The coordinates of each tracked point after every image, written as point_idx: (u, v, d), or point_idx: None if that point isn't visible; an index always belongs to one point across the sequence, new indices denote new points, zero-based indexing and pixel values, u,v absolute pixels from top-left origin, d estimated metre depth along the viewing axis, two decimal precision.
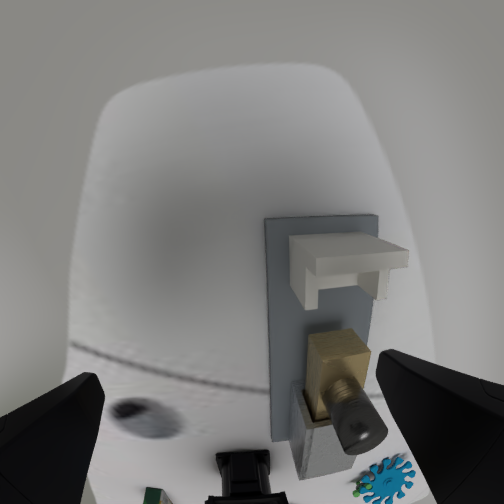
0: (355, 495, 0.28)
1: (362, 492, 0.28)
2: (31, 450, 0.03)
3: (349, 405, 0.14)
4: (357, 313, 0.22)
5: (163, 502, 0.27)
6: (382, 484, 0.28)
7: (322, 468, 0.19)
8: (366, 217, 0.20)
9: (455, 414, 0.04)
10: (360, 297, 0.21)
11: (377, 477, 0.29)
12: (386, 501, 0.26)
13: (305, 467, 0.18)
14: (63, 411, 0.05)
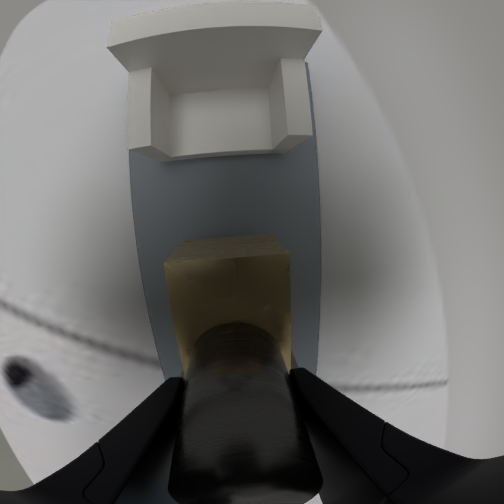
0: None
1: None
2: (139, 480, 0.03)
3: (209, 380, 0.06)
4: (291, 220, 0.13)
5: None
6: None
7: None
8: None
9: (339, 460, 0.04)
10: (293, 189, 0.13)
11: None
12: None
13: None
14: (167, 425, 0.05)
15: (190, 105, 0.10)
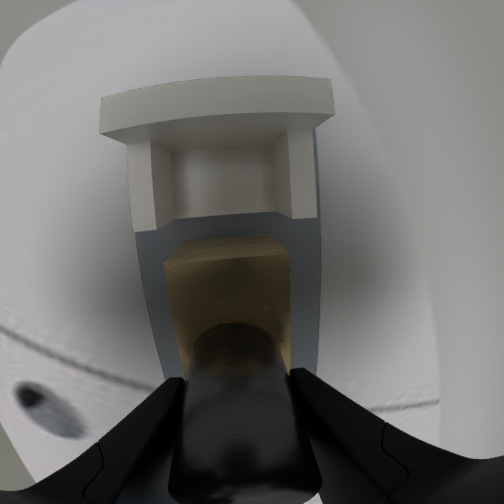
0: None
1: None
2: (139, 479, 0.03)
3: (209, 380, 0.06)
4: (293, 273, 0.14)
5: None
6: None
7: None
8: None
9: (339, 460, 0.04)
10: (295, 243, 0.13)
11: None
12: None
13: None
14: (167, 425, 0.05)
15: (192, 164, 0.11)
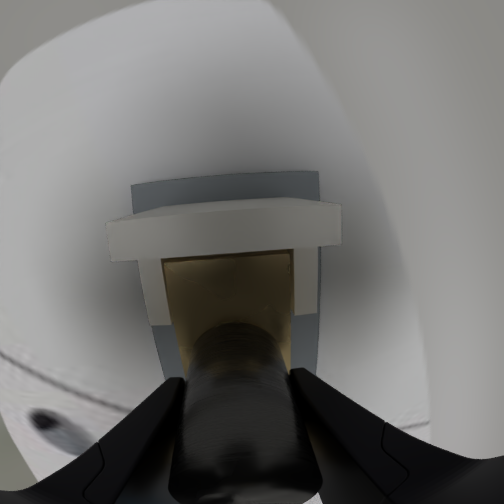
0: None
1: None
2: (140, 480, 0.03)
3: (209, 380, 0.06)
4: (293, 330, 0.14)
5: None
6: None
7: None
8: (296, 173, 0.13)
9: (339, 460, 0.04)
10: None
11: None
12: None
13: None
14: (167, 425, 0.05)
15: None
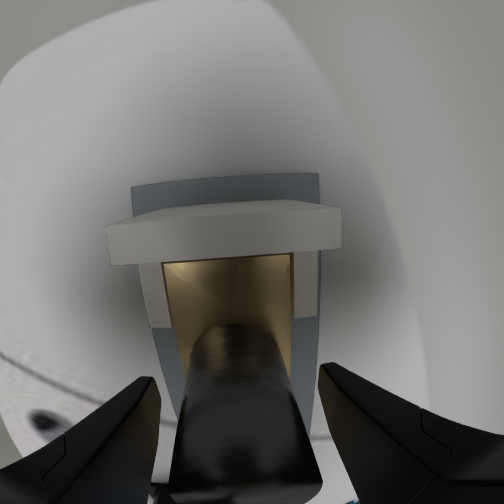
0: None
1: None
2: (99, 472, 0.03)
3: (209, 381, 0.06)
4: (293, 332, 0.14)
5: None
6: None
7: None
8: (296, 175, 0.13)
9: (382, 447, 0.04)
10: None
11: None
12: None
13: None
14: (130, 422, 0.05)
15: None
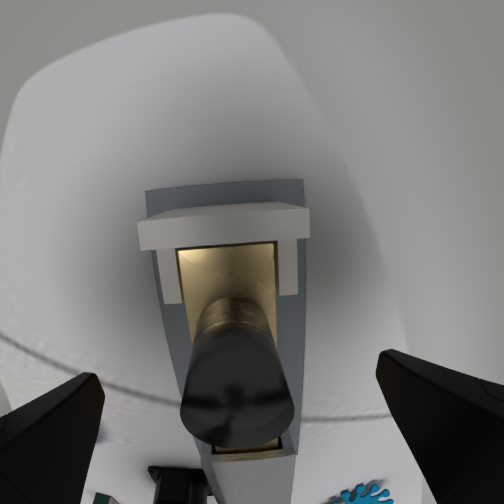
0: None
1: None
2: (31, 449, 0.03)
3: (212, 333, 0.08)
4: (283, 315, 0.17)
5: None
6: None
7: None
8: (284, 181, 0.15)
9: (455, 414, 0.04)
10: None
11: None
12: None
13: (222, 501, 0.13)
14: (64, 411, 0.05)
15: None
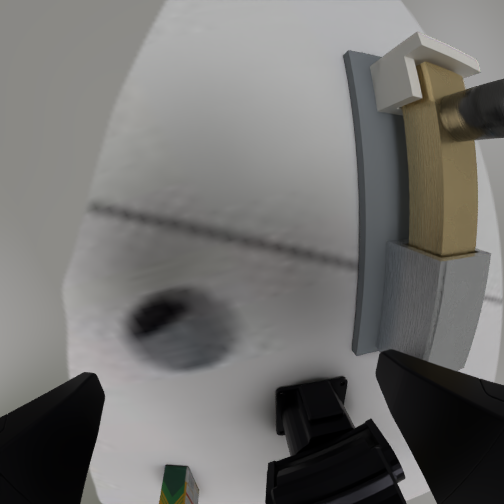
0: None
1: None
2: (30, 449, 0.03)
3: None
4: None
5: (189, 484, 0.22)
6: None
7: (442, 360, 0.14)
8: None
9: (455, 414, 0.04)
10: None
11: None
12: None
13: (427, 356, 0.14)
14: (64, 411, 0.05)
15: None
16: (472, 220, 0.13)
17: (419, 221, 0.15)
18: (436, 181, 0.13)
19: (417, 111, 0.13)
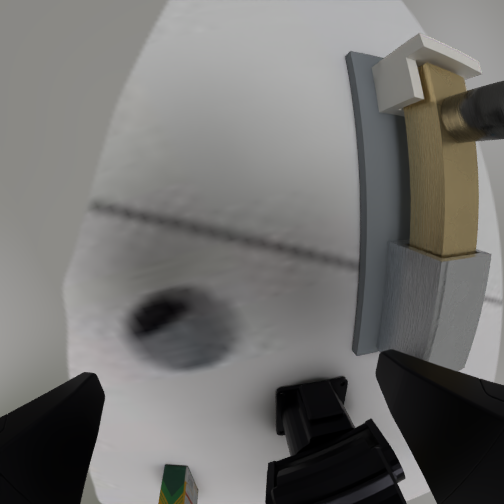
0: None
1: None
2: (30, 449, 0.03)
3: (475, 88, 0.09)
4: None
5: (188, 484, 0.22)
6: None
7: (442, 361, 0.14)
8: None
9: (455, 414, 0.04)
10: None
11: None
12: None
13: (427, 356, 0.14)
14: (64, 411, 0.05)
15: None
16: (473, 220, 0.13)
17: (420, 222, 0.15)
18: (437, 182, 0.13)
19: (419, 112, 0.13)
